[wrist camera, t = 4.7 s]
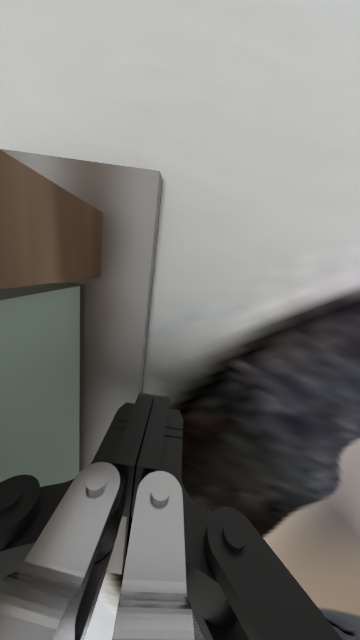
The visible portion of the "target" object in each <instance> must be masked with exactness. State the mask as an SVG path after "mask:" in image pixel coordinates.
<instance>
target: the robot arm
mask: <svg viewBox="0 0 360 640" xmlns="http://www.w3.org/2000/svg"><path fill="white" fill-rule="evenodd" d="M169 400H170V397H164V396H158V395H155V398H154V395H151V394H144V393H139V395H138V397H137V400H136V402H135V404H134V403H127V402H126V403H125V404H123V405H122V406H121V407H120V408H119V409H118V410H117V412H116V414H115V416H114V418H113V420H112V422H111V424H110V426H109V428H108V430H107V432H106V434H105V436H104V438H103V440H102V442H101V444H100V447H99V449H98V451H97V453H96V455H95V457H94V459H93V461H92V462H91V464H90V465H89V466H87V467H86V468H84V469H83V470H82V471H80V473H79V474H78V475H77V476H76V477H75V478H74V479H72V480H70V481H67V482H63V483H59V484H53V485H48V486H43V487H40V484H39V481H38V480H37V479H36V478H35V477H34V476H32V475H17V476H13V477H11V478H8V479H6V480H4V481H2V482H0V640H84V638H85V635H86V632H87V629H88V626H89V623H90V620H91V617H92V613H93V610H94V607H95V604H96V601H97V598H98V595H99V592H100V589H101V586H102V583H103V579H104V576H105V573H106V570H107V567H108V564H109V561H110V558H111V555H112V552H113V548H114V544H115V540H116V537H117V534H118V530H119V526H120V523H121V519H122V516H123V517H129V515H130V511H131V507H132V513H131V518H133V520H132V526H131V532H130V539H129V545H128V551H127V557H126V564H125V570H124V576H123V582H122V588H121V594H120V599H119V604H118V609H117V615H116V621H115V627H114V633H113V639H112V640H194V626H193V616H192V609H193V613H194V616H195V618H196V621H197V623H198V625H199V627H200V630H201V632H202V634H203V637H204V639H205V640H358V638H357V637H356V636H350V635H346V634H345V633H343V632H342V631H341V630H339V629H338V628H336V627H334V626H332V625H331V624H330V623H329V621H328V620H327V619H326V618H325V616H324V615H323V614H322V612H321V611H320V610H319V609H318V607H317V606H316V605H315V604H314V603H313V601H312V600H311V599H310V598H309V596H308V595H307V593H306V592H305V591H304V590H303V588H302V587H301V586H300V585H299V583H298V582H297V581H296V580H295V578H294V577H293V576H292V575H291V573H290V572H289V571H288V570H287V568H286V567H285V566H284V564H283V563H282V562H281V560H280V559H279V558H278V557H277V555H276V554H275V553H274V552H273V551H272V549H271V548H270V547H269V545H268V544H267V543H266V541H265V540H264V539H263V538H262V536H261V535H260V534H259V533H258V531H257V530H256V529H255V528H254V526H253V525H252V524H251V522H250V521H249V520H248V519H247V518H246V517H245V516H244V515H243V514H242V513H241V512H239V511H238V510H236V509H234V508H231V507H220V508H218V509H216V510H215V511H214V512H212V511H210V510H209V509H207V508H205V507H203V506H202V505H200V504H198V503H197V502H195V501H194V500H193V499H192V498H191V497H190V496H189V495H188V493H187V492H186V490H185V488H184V486H183V483H182V478H181V468H182V441H183V440H182V438H183V418H182V415H181V413H180V411H179V410H174V409H168V407H169ZM132 503H133V504H132Z"/></svg>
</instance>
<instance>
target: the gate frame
mask: <svg viewBox="0 0 360 640" xmlns="http://www.w3.org/2000/svg"><path fill="white" fill-rule="evenodd" d="M162 181H163V180H162V177H161V174H160V171H154V170H147V169H140V168H133V167H125V166H118V165H111V164H104V163H97V162H90V161H82V160H75V159H68V158H61V157H54V156H47V155H40V154H32V153H25V152H18V151H11V150H4V149H0V289H8V288H17V287H25V286H33V285H41V284H49V283H63V284H70V285H77V286H80V411H79V473H80V471H82V470H83V469H84V468H86V467H87V466H89V465H90V464H91V462H92V461H93V459H94V457H95V455H96V453H97V451H98V449H99V447H100V444H101V442H102V440H103V438H104V436H105V434H106V432H107V430H108V428H109V426H110V424H111V422H112V420H113V418H114V416H115V414H116V412H117V410H118V409H119V408H120V407H121V406H122V405H123V404H125V403H126V402H127V403H134V404H135V402H136V400H137V397H138V395H139V393H142V382H143V372H144V362H145V352H146V342H147V332H148V322H149V312H150V302H151V292H152V282H153V272H154V262H155V252H156V241H157V231H158V221H159V211H160V201H161V191H162ZM128 523H129V517H123V516H122V519H121V523H120V526H119V530H118V534H117V537H116V540H115V544H114V548H113V552H112V555H111V558H110V561H109V564H108V567H107V570H106V572H109V573H116V574H122V569H123V565H124V560H125V554H126V544H127V534H128Z"/></svg>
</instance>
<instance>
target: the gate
mask: <svg viewBox="0 0 360 640" xmlns="http://www.w3.org/2000/svg"><path fill="white" fill-rule="evenodd" d="M79 411H80V286H77V285H70V284H63V283H49V284H41V285H33V286H25V287H17V288H8V289H0V482H2V481H4V480H6V479H8V478H11V477H13V476H17V475H32V476H34V477H35V478H36V479H37V480H38V481H39V484H40V487H43V486H48V485H53V484H59V483H63V482H67V481H70V480H72V479H74V478H75V477H76V476H77V475H78V474H79Z"/></svg>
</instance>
